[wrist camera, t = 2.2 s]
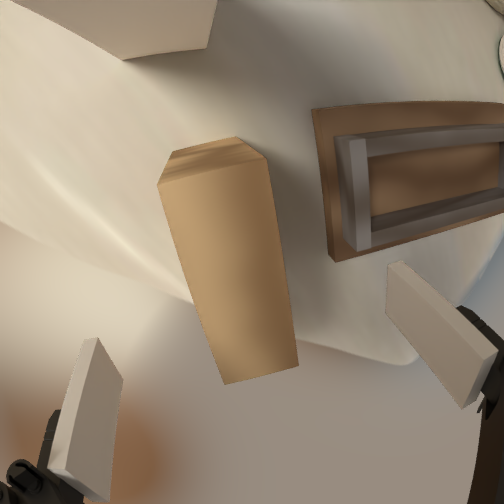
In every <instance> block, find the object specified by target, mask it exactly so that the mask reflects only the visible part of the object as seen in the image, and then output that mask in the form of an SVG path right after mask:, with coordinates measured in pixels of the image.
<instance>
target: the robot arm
mask: <svg viewBox="0 0 504 504" xmlns="http://www.w3.org/2000/svg"><path fill="white" fill-rule="evenodd" d="M385 313H386V314H387V316H388V317H389V318H390V319H391V320H392V322H393V323H394V324H395V325H396V326H397V328H398V329H399V330H400V331H401V332H402V334H403V335H404V336H405V337H406V339H407V340H408V341H409V342H410V343H411V345H412V346H413V347H414V348H415V350H416V351H417V352H418V353H419V355H420V356H421V357H422V358H423V360H424V361H425V362H426V363H427V365H428V366H429V367H430V369H431V370H432V371H433V372H434V374H435V375H436V376H437V378H438V379H439V380H440V382H441V383H442V384H443V385H444V387H445V388H446V389H447V391H448V392H449V393H450V395H451V396H452V397H453V399H454V400H455V401H456V403H457V404H458V405H459V407H460V408H461V409H463V408H465V407H466V406H468V405H470V404H471V403H473V402H474V401H476V399H477V397H478V395H479V393H480V391H481V392H482V393H483V394H484V395H485V397H484V398H483V400H482V402H481V404H480V406H479V408H478V411H477V413H480V411H481V409H482V419H481V429H480V437H479V445H478V452H477V458H476V464H475V470H474V475H473V480H472V485H471V490H470V494H469V498H468V502H467V504H504V340H503V339H502V338H501V337H500V336H498V334H496V333H495V332H494V331H493V330H492V329H491V328H490V327H489V326H487V325H486V323H485V322H484V321H483V320H480V317H478V316H477V315H476V314H475V313H474V312H473V311H472V310H470V309H468V308H466V307H463V306H459V307H457V308H455V307H454V306H452V305H451V304H450V303H449V302H448V301H447V300H446V299H445V298H444V297H443V296H442V295H440V294H439V293H438V292H437V291H436V290H435V289H434V288H433V287H432V286H430V285H429V284H428V283H427V282H426V281H425V280H424V279H422V278H421V277H420V276H419V275H418V274H417V273H416V272H414V271H413V270H412V269H411V268H410V267H409V266H407V265H406V264H405V263H404V262H403V261H402V260H401V261H398V262H395V263H392V264H388V270H387V293H386V309H385ZM122 384H123V378H122V376H121V375H120V374H119V372H118V370H117V369H116V367H115V365H114V364H113V362H112V360H111V359H110V357H109V355H108V354H107V352H106V351H105V349H104V347H103V345H102V344H101V342H100V340H99V338H92V339H87V340H84V341H83V344H82V347H81V350H80V352H79V355H78V358H77V361H76V364H75V368H74V370H73V373H72V376H71V379H70V383H69V386H68V389H67V392H66V396H65V399H64V402H63V406H62V409H61V410H55V411H54V413H53V414H52V416H51V417H50V419H49V421H48V425H47V428H46V432H45V436H44V441H43V443H42V447H41V451H40V455H39V459H38V464H37V468H36V467H34V466H33V465H32V464H31V463H30V462H28V461H26V460H24V459H19V460H17V461H15V462H13V463H12V464H11V465H10V467H9V469H8V470H7V475H6V478H7V483H8V484H10V485H11V486H12V487H8V486H7V485H6V484H4V483H3V482H1V481H0V504H84V503H83V498H84V496H85V497H86V498H88V499H89V500H91V501H92V502H109V501H110V485H111V472H112V461H113V451H114V443H115V433H116V426H117V418H118V411H119V404H120V397H121V391H122Z"/></svg>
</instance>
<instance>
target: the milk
mask: <svg viewBox="0 0 504 504" xmlns="http://www.w3.org/2000/svg"><path fill="white" fill-rule="evenodd" d="M10 1H13V2H15V3H17V4H19V5H21V6H23V7H25V8H27V9H29V10H31V11H33V12H35V13H37V14H39V15H41V16H43V17H45V18H47V19H49V20H51V21H53V22H55V23H57V24H59V25H61V26H62V27H64V28H66V29H68V30H70V31H72V32H73V33H75V34H77V35H79V36H81V37H82V38H84V39H86V40H88V41H89V42H91V43H93V44H95V45H96V46H98V47H100V48H102V49H103V50H105V51H107V52H108V53H110V54H112V55H113V56H115V57H117V58H118V59H120V60H125V59H130V58H136V57H142V56H148V55H154V54H161V53H169V52H177V51H186V50H196V49H206V48H207V45H208V40H209V36H210V31H211V27H212V23H213V19H214V15H215V11H216V7H217V3H218V0H10Z"/></svg>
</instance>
